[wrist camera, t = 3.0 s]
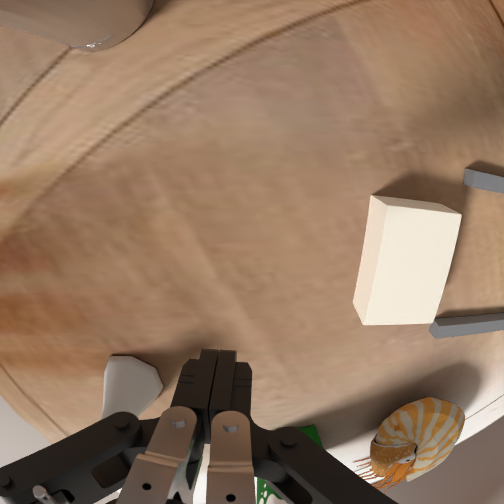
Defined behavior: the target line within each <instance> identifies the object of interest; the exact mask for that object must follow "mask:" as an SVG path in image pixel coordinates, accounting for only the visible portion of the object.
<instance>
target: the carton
mask: <svg viewBox="0 0 504 504" xmlns="http://www.w3.org/2000/svg"><path fill="white" fill-rule="evenodd" d="M461 216H462V214H460V213H458V212H456V211H454V210H452V209H450V208H448V207H446V206H444V205H442V204H440V203H433V202H425V201H418V200H410V199H402V198H394V197H385V196H376V195H371V197H370V205H369V213H368V220H367V227H366V233H365V239H364V246H363V252H362V257H361V263H360V269H359V274H358V279H357V284H356V289H355V294H354V299H353V304H354V307H355V309H356V311H357V313H358V315H359V317H360V319H361V321H362V323H363V325H396V324H425V323H433V321H434V318H435V315H436V312H437V309H438V306H439V303H440V300H441V296H442V293H443V290H444V287H445V283H446V280H447V276H448V272H449V269H450V265H451V261H452V257H453V253H454V249H455V245H456V240H457V236H458V231H459V226H460V221H461Z"/></svg>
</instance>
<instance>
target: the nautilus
mask: <svg viewBox="0 0 504 504" xmlns="http://www.w3.org/2000/svg"><path fill="white" fill-rule="evenodd" d="M464 422H465V415H464V412H463V410H462V409H460V408H459V407H458V406H457V405H456V404H453V403H449V402H446V401H443V400H440V399H437V398H432V397H427V398H424V399H420V400H417V401H414V402H411V403H408V404H406V405H404V406H403V407H401V408H399V409H398V410H396V411H394V412H393V413H392V414H391V415H390V416H389V417H388V418H386V419H385V420H384V421H383V422H382V424H381V425H380V427H379V429H378V433H377V434H376V436H375V437H374V439H373V440H372V441H371V447H370V458H371V462H368V463H370V465H372V469H370V471H374V473H372V474H370V475H366V476H362V477H361V478H363V477H367V476H371V475H373V474H376V475H375V476H376V477H378V476H379V477H385V478H384V480H382V481H379V482H380V483H379V482H376V483H374V484H377V483H379V484H381V483H382V482H386V481H387V480H388V479H389V478H390V477H391V476H392V475H393V474H394V476H393V477H392V480H391V481H390V482H388V483H385V484H387V485H386V486H388V485H389V484H391V483H394V482H397V481H398V482H397V483H396V484H398V483H399V482H401V481H402V480H404V479H406V480H407V481H408V482H409V481H411V480H413V479H414V478H416V477H418V476H420V475H422V474H424V473H426V472H428V471H429V470H431V469H433V468H434V467H436V466H437V465H438V464H440V463H441V462H442V461H444V460H445V459H446V458H447V456H448V455H449V453H450V452H451V451H452V449H453V447H454V445H455V443H456V441H457V440H458V439H459V436H460V434H461V432H462V429H463V425H464ZM370 458H366V459H370ZM366 459H363V460H366ZM363 460H359V461H363ZM355 462H358V461H355ZM368 463H366V464H368ZM363 465H365V464H363ZM370 465H369V466H370ZM360 466H362V465H360ZM369 466H367V467H369ZM357 467H358V466H357ZM367 467H365V468H367ZM370 471H367V472H370ZM367 472H365V473H367ZM365 473H362V474H365ZM362 474H360V475H362ZM377 475H378V476H377ZM386 475H387V476H386ZM358 476H359V475H358ZM376 477H372V478H368V479H373V478H376ZM368 479H364V480H368ZM374 484H371V485H374ZM379 484H377V485H375V486H373V487H376V486H378V485H379ZM385 484H383V485H385ZM396 484H395V485H396ZM383 485H381V486H380V487H376V489H379V488H383V487H386V486H383ZM382 486H383V487H382ZM392 486H394V485H392ZM392 486H391V487H392ZM389 488H390V487H389ZM389 488H388V489H389ZM384 493H385V492H384ZM384 493H383V494H384Z"/></svg>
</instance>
